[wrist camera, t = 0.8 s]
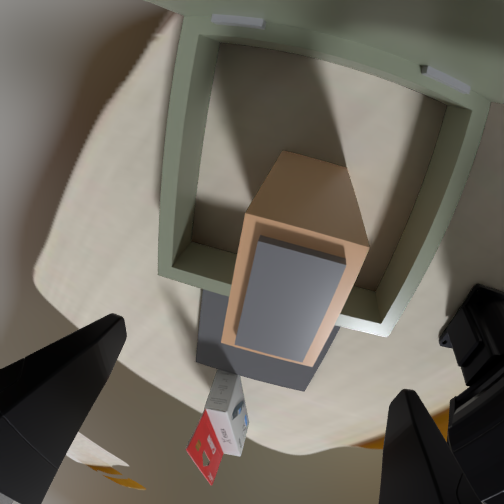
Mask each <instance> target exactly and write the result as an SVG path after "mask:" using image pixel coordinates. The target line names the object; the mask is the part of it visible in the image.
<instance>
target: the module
mask: <svg viewBox="0 0 504 504" xmlns="http://www.w3.org/2000/svg"><path fill="white" fill-rule="evenodd" d="M369 248H370V246H369V243H368V239H367V235H366V231H365V227H364V224H363V220H362V216H361V213H360V209H359V206H358V202H357V199H356V196H355V192H354V189H353V186H352V183H351V179H350V176H349V173H348V170H347V168H346V167H343V166H339V165H336V164H332V163H329V162H326V161H322V160H318V159H315V158H311V157H307V156H304V155H300V154H296V153H292V152H288V151H284V150H283V151H282V152H281V154H280V155H279V157H278V159H277V160H276V162H275V164H274V165H273V167H272V169H271V170H270V172H269V174H268V175H267V177H266V179H265V181H264V182H263V184H262V186H261V187H260V189H259V191H258V192H257V194H256V196H255V197H254V199H253V201H252V202H251V204H250V206H249V208H248V209H247V211H246V213H245V217H244V222H243V227H242V232H241V238H240V243H239V248H238V253H237V259H236V264H235V269H234V275H233V280H232V285H231V291H230V296H229V301H228V307H227V312H226V318H225V323H224V329H223V334H222V340H221V343H224V344H227V345H230V346H234V347H237V348H241V349H244V350H248V351H251V352H255V353H259V354H262V355H266V356H270V357H274V358H277V359H281V360H285V361H289V362H293V363H297V364H302V365H306V366H310V367H313V365H314V363H315V361H316V360H317V358H318V356H319V354H320V352H321V350H322V348H323V346H324V345H325V343H326V341H327V339H328V337H329V335H330V333H331V331H332V329H333V327H334V325H335V323H336V321H337V319H338V317H339V315H340V313H341V311H342V309H343V306H344V304H345V302H346V300H347V298H348V296H349V294H350V292H351V289H352V287H353V285H354V283H355V281H356V278H357V276H358V274H359V272H360V269H361V267H362V265H363V262H364V260H365V258H366V255H367V253H368V251H369Z"/></svg>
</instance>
